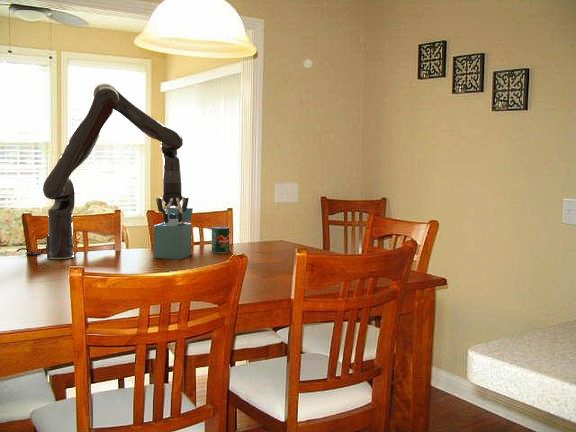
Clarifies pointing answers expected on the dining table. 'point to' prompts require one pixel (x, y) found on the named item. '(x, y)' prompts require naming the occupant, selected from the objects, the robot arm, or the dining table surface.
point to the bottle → (172, 220)
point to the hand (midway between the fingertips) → (172, 222)
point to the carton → (172, 241)
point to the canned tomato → (220, 239)
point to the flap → (185, 215)
